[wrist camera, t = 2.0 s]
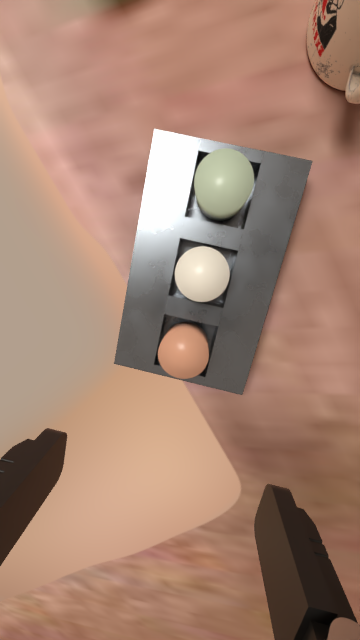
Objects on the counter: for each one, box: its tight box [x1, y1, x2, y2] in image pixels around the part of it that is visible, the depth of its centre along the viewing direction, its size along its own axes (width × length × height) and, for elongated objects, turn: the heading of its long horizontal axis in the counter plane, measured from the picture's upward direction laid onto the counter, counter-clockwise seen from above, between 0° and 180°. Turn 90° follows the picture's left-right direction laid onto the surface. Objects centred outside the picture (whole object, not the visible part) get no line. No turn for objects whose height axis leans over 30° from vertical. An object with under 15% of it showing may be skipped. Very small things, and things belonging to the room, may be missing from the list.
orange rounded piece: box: [158, 322, 209, 379], centre depth 24 cm, size 4×4×4 cm
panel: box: [114, 129, 312, 395], centre depth 25 cm, size 21×13×3 cm, turn 168°
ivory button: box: [175, 246, 230, 302], centre depth 23 cm, size 4×4×4 cm
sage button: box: [194, 148, 254, 221], centre depth 21 cm, size 4×4×4 cm
